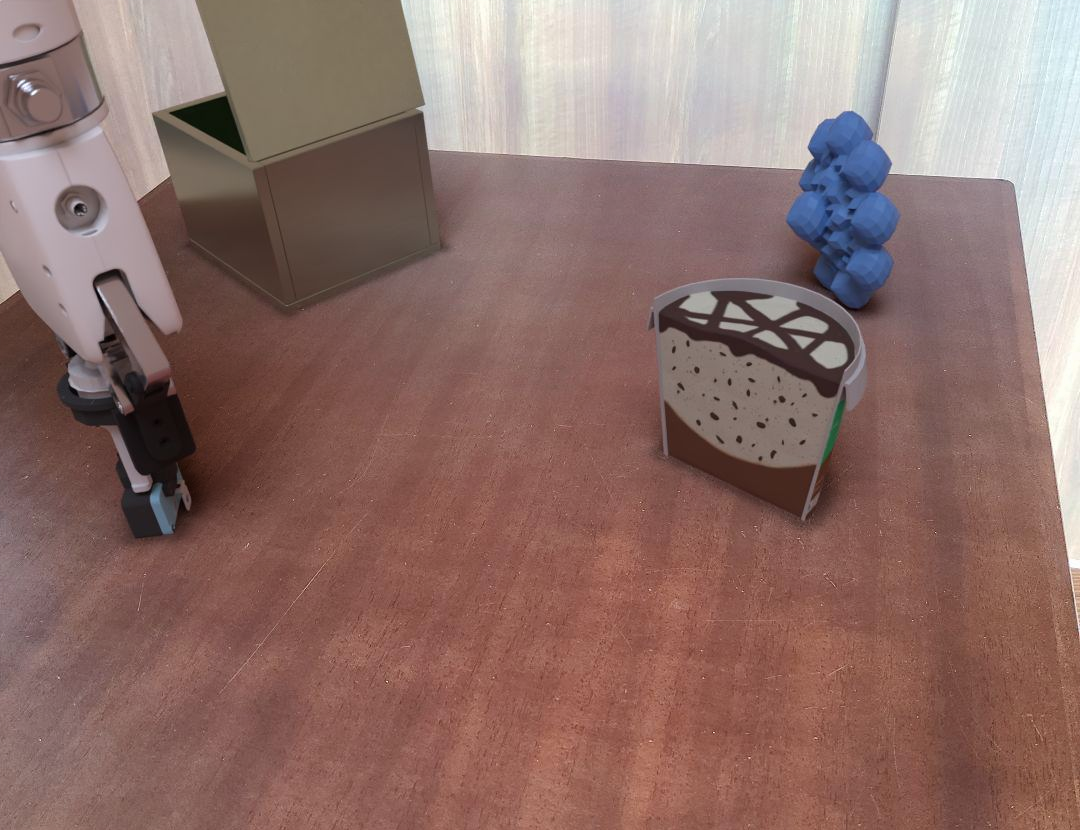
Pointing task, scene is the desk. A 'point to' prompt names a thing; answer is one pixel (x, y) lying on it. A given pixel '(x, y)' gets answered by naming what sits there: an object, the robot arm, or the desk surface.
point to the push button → (124, 450)
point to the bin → (302, 201)
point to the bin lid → (310, 67)
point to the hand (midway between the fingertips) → (142, 435)
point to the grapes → (846, 209)
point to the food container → (756, 383)
